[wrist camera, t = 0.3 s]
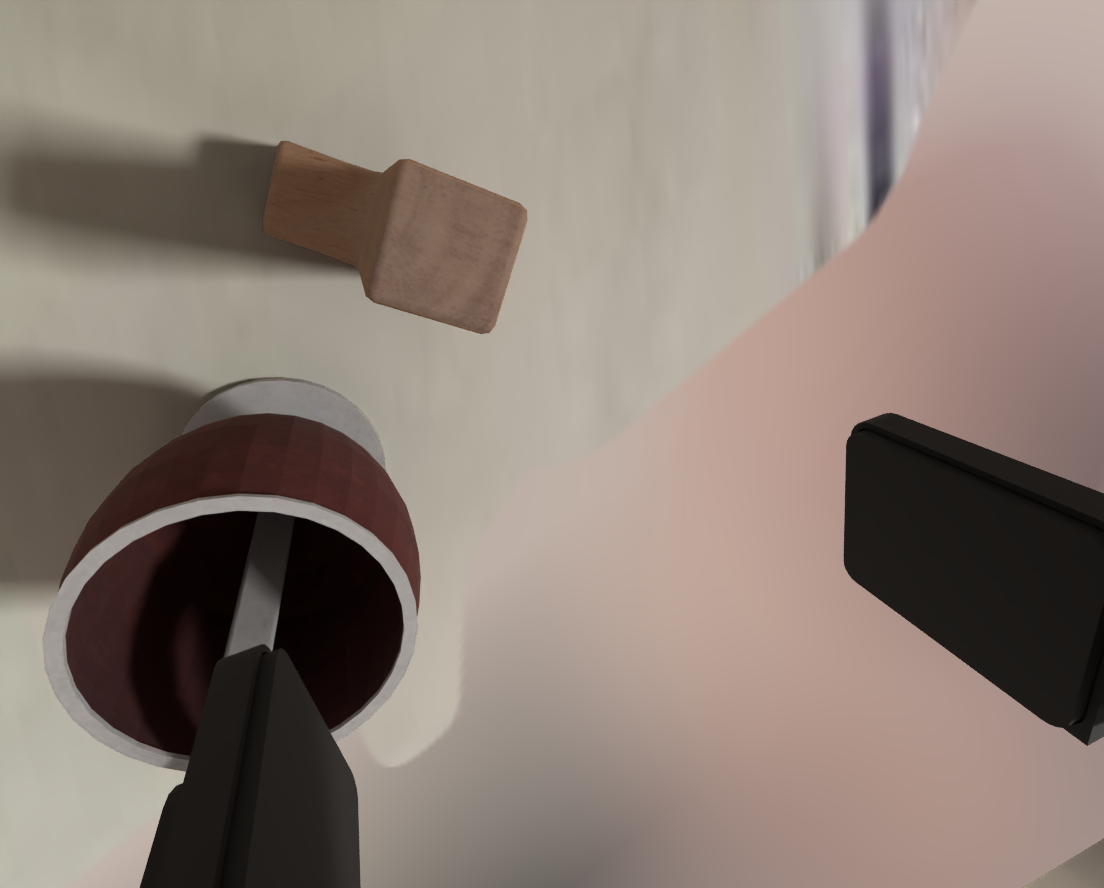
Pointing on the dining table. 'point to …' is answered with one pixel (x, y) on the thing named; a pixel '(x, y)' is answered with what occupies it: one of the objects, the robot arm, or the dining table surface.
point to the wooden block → (401, 232)
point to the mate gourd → (238, 571)
